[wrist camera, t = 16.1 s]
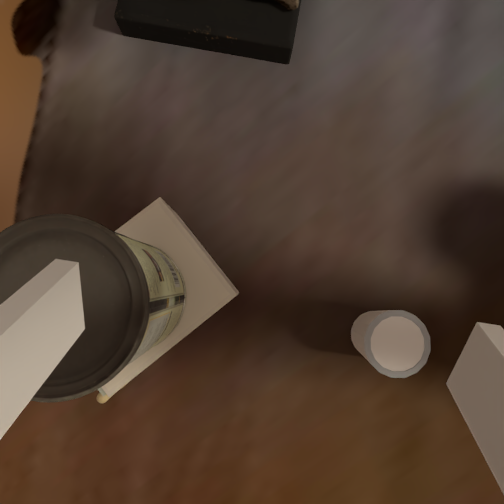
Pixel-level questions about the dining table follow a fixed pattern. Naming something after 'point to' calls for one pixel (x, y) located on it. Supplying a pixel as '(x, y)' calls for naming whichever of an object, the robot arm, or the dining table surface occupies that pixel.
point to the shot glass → (392, 341)
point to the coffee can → (97, 295)
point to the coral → (215, 25)
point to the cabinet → (193, 271)
